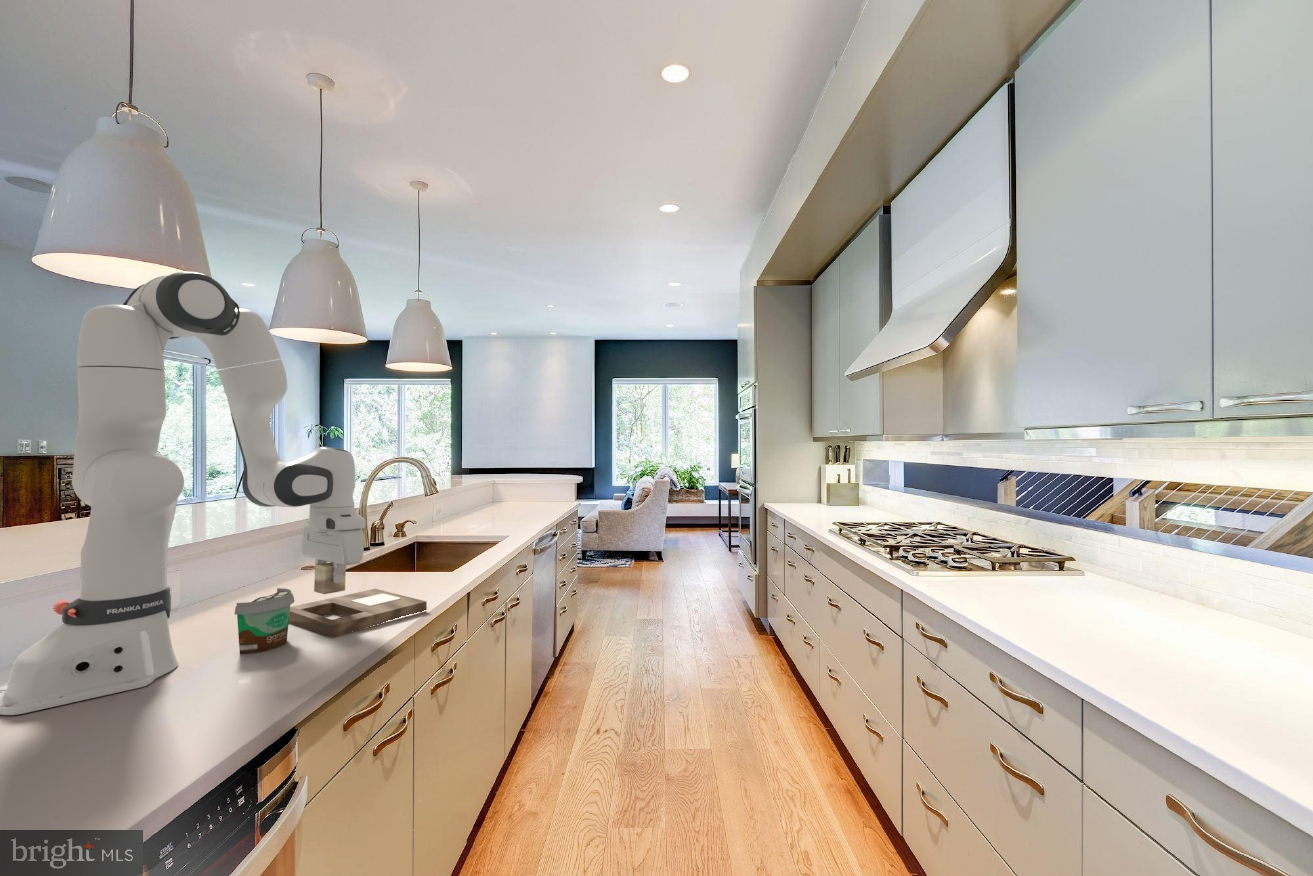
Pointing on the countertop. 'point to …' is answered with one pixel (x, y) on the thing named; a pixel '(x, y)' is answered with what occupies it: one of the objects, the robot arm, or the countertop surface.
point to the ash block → (327, 579)
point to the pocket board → (354, 611)
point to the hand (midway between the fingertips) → (329, 580)
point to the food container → (264, 622)
